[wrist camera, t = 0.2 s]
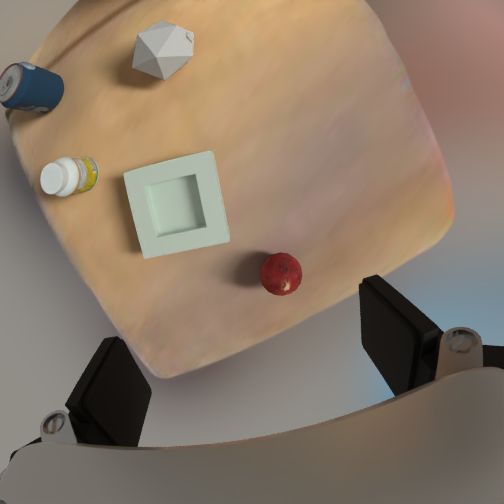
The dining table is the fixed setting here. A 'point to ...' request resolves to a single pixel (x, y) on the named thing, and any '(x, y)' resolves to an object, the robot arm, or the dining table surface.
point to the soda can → (30, 88)
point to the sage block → (177, 205)
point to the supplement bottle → (69, 176)
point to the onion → (281, 274)
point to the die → (162, 49)
